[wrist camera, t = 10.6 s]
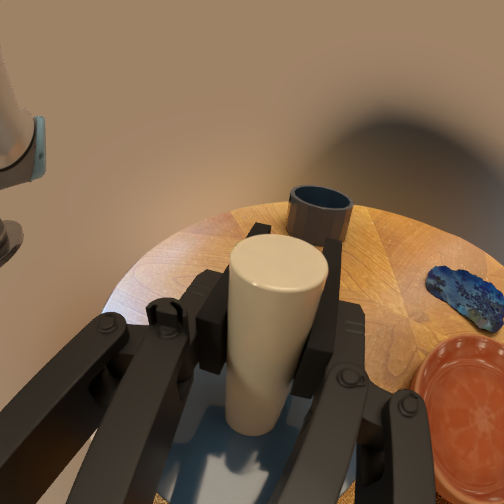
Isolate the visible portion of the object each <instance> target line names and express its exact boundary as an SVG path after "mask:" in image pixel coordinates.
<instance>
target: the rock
mask: <svg viewBox="0 0 504 504" xmlns="http://www.w3.org/2000/svg"><path fill="white" fill-rule="evenodd" d="M426 286H427V289H428V290H429V291H430V292H431V294H432V295H434V296H435V297H438V298H440V299H441V300H442V301H446V302H448V304H450V305H451V307H453V308H454V309H457V310H458V312H459V313H462V315H466V317H469V319H472V321H473V322H475V325H478V328H483V329H486V330H488V331H490V332H492V333H494V332H497V331H498V330H499V329H501V327H502V326H503V325H504V321H503V320H502V319H503V318H504V296H503V293H501V291H499V290H497V289H496V288H495V286H494V285H493V284H492V283H490V282H489V283H488V282H486V281H483V279H482V278H480V277H477V276H476V275H472V274H470V273H469V272H468V271H466V270H460V269H459V270H458V271H457V270H456V271H454V270H451V269H450V268H448V267H447V266H439V267H437V266H435V267H434V268H433V269H431V270H430V271H429V273H428V277H427V282H426Z"/></svg>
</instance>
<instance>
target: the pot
mask: <svg viewBox="0 0 504 504" xmlns="http://www.w3.org/2000/svg"><path fill="white" fill-rule="evenodd" d="M353 205H354V202H353V201H352V199H351V198H350V197H348V196H347V195H345V194H344V193H342V192H339V191H337V190H334V189H331V188H327V187H323V186H316V185H301V186H297V187H294V188H293V189H292V190H291V191H290V198H289V205H288V211H287V218H286V230H287V231H288V233H289V234H290V235H291V236H292V237H295V238H298V239H301V240H303V241H305V242H307V243H309V244H311V245H314V246H321V247H324V244H325V240H326V238H330V239H335V240H339V241H342V242H343V241H344V240H345V236H346V233H347V229H348V225H349V221H350V217H351V213H352V209H353Z"/></svg>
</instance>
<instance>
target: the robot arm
mask: <svg viewBox="0 0 504 504" xmlns="http://www.w3.org/2000/svg"><path fill="white" fill-rule="evenodd" d="M45 139H46V138H45V119H44V117H42V116H40V117H38V116H35V117H34V118H32V116H31V114H30V113H29V112H28V111H27V110H26V109H25V108H22V107H19V106H18V103H17V100H16V98H15V95H14V92H13V89H12V86H11V83H10V79H9V76H8V73H7V70H6V66H5V63H4V59H3V55H2V52H1V48H0V190H1V189H4V188H8V187H11V186H14V185H18V184H21V183H25V182H31V181H32V180H35V179H38V178H41V177H42V176H43V175H44V174H45V171H46V141H45ZM270 232H271V225H266V224H261V223H257V222H256V223H255V224H254V226H253V227H252V229H251V230H250V232H249V233H248V235H247V237H246V238H248V237H251V236H255V235H261V234H270ZM6 237H7V232H6V229H5V225H4V223H3V222H2V220H1V219H0V247H1V246H2V244H3V243H4V242H5V240H6ZM246 238H245V239H246ZM341 253H342V241H339V240H335V239H330V238H326V240H325V244H324V248H323V252H322V254H323V255H324V257H325V258H326V260H327V263H328V268H329V272H328V276H327V280H326V283H325V286H324V290H323V293H322V297H321V300H320V303H319V306H318V310H317V313H316V316H315V319H314V322H313V325H312V328H311V331H310V334H309V337H308V340H307V343H306V346H305V349H304V352H303V355H302V358H301V360H300V363H299V366H298V369H297V372H296V374H295V377H294V381H293V385H292V389H291V393H290V395H293V396H297V397H302V398H306V399H311V398H312V396H313V400H312V405H311V407H310V409H309V410H308V412H307V414H306V416H305V417H304V419H303V421H304V423H303V425H302V428H301V430H300V433H299V435H298V438H297V440H296V442H295V445H294V447H293V450H292V452H291V454H290V456H289V459H288V461H287V463H286V465H285V468H284V470H283V472H282V474H281V476H280V479H279V481H278V483H277V485H276V487H275V489H274V491H273V493H272V495H271V497H270V499H269V501H268V503H267V504H337V501H338V498H339V496H340V493H341V490H342V487H343V484H344V481H345V478H346V475H347V472H348V469H349V465H350V462H351V459H352V455H353V452H354V448H355V444H356V482H355V500H354V504H436V487H435V471H434V460H433V450H432V442H431V434H430V427H429V421H428V414H427V408H426V405H425V402H424V400H423V398H422V397H421V396H420V395H419V394H418V393H416V392H415V391H413V390H408V389H402V390H398V391H397V392H395V393H394V394H392V393H390V392H388V391H386V390H384V389H382V388H380V387H378V386H376V385H375V384H374V383H373V382H371V381H370V379H369V377H368V375H367V373H366V371H365V366H364V363H365V327H364V326H365V314H364V312H363V310H362V308H361V306H360V305H359V304H354V303H350V302H345V301H341V300H339V289H340V274H341ZM228 282H229V265H228V266H227V268H226V269H225V271H224V273H220V272H216V271H212V270H208V269H207V270H205V271H204V272H202V273H200V274H199V275H197V276H196V278H195V279H194V280H193V282H192V283H191V285H190V286H189V287H188V288H187V290H186V292H185V293H184V294H183V295H182V297H181V298H180V299H179V300H177V299H174V298H166V297H165V298H160V299H156V300H154V301H152V302H150V303H149V305H148V306H147V307H146V312H147V317H148V321H149V325H133V324H127V323H126V321H125V318H124V317H123V316H122V315H121V314H118V313H115V312H106V313H103V314H100V315H99V316H97V317H96V318H94V319H93V320H92V321H91V322H90V323H89V324H88V325H87V326H86V327H84V328H83V329H82V330H81V331H80V332H79V333H78V334H77V335H76V336H75V337H74V338H73V339H72V340H71V341H70V342H69V343H67V344H66V345H65V346H64V347H63V348H62V349H61V350H60V351H59V352H58V353H57V354H56V355H55V356H54V357H53V358H52V359H51V360H50V361H49V362H48V363H47V364H46V365H45V366H44V367H43V368H42V369H41V370H40V371H39V372H38V373H37V374H36V375H35V376H34V377H33V378H32V379H31V380H30V381H29V382H28V383H27V384H26V385H25V386H24V387H23V388H22V389H21V390H20V391H19V392H18V393H17V395H16V396H15V397H14V398H13V399H12V400H11V401H10V402H9V403H8V404H7V405H6V406H5V407H4V408H3V409H2V411H1V412H0V504H36V503H37V501H38V500H39V499H40V498H41V496H42V495H43V494H44V493H45V492H46V490H47V489H48V488H49V487H50V485H51V484H52V483H53V482H54V481H55V479H56V478H57V477H58V476H59V474H60V473H61V472H62V471H63V469H64V468H65V467H66V466H67V465H68V463H69V462H70V461H71V460H72V458H73V457H74V456H75V455H76V453H77V452H78V451H79V450H80V449H81V447H82V446H83V445H84V444H85V443H86V441H87V440H88V439H89V438H90V436H91V435H92V434H93V433H94V432H95V430H96V429H97V428H98V429H97V431H96V433H95V436H94V438H93V440H92V442H91V444H90V447H89V449H88V451H87V453H86V456H85V458H84V461H83V463H82V465H81V467H80V470H79V472H78V474H77V477H76V479H75V481H74V484H73V486H72V489H71V491H70V494H69V496H68V499H67V502H66V504H153V501H154V498H155V495H156V491H157V488H158V485H159V482H160V479H161V476H162V473H163V470H164V467H165V464H166V461H167V458H168V455H169V452H170V449H171V446H172V443H173V439H174V436H175V433H176V430H177V427H178V424H179V422H180V419H181V416H182V413H183V410H184V407H185V404H186V401H187V398H188V395H189V392H190V389H191V386H192V383H193V380H194V369H195V367H196V365H197V363H198V362H199V369H201V370H204V371H207V372H210V373H213V374H216V375H220V373H221V370H222V368H223V366H224V364H225V362H226V333H227V306H228ZM313 394H314V395H313Z"/></svg>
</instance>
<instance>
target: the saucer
mask: <svg viewBox="0 0 504 504" xmlns="http://www.w3.org/2000/svg"><path fill="white" fill-rule="evenodd" d="M410 390H413V391H415V392H416V393H418V394H419V395H420V396H421V397H422V398H423V400H424V402H425V405H426V408H427V414H428V421H429V427H430V434H431V442H432V450H433V460H434V471H435V487H436V492H437V493H438V494H439V495H441V496H442V497H443V498H444V499H445V500H447V501H448V502H450V503H452V504H504V344H503V343H501V342H499V341H497V340H495V339H492V338H489V337H486V336H482V335H477V334H462V335H456V336H452V337H450V338H447V339H445V340H443V341H442V342H440V343H439V344H437V345H436V346H435V347H434V348H433V349H432V350H431V351H430V352H429V353H428V355H427V356H426V357H425V359H424V360H423V362H422V363H421V365H420V366H419V368H418V370H417V371H416V373H415V375H414V378H413V380H412V383H411V386H410Z"/></svg>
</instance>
